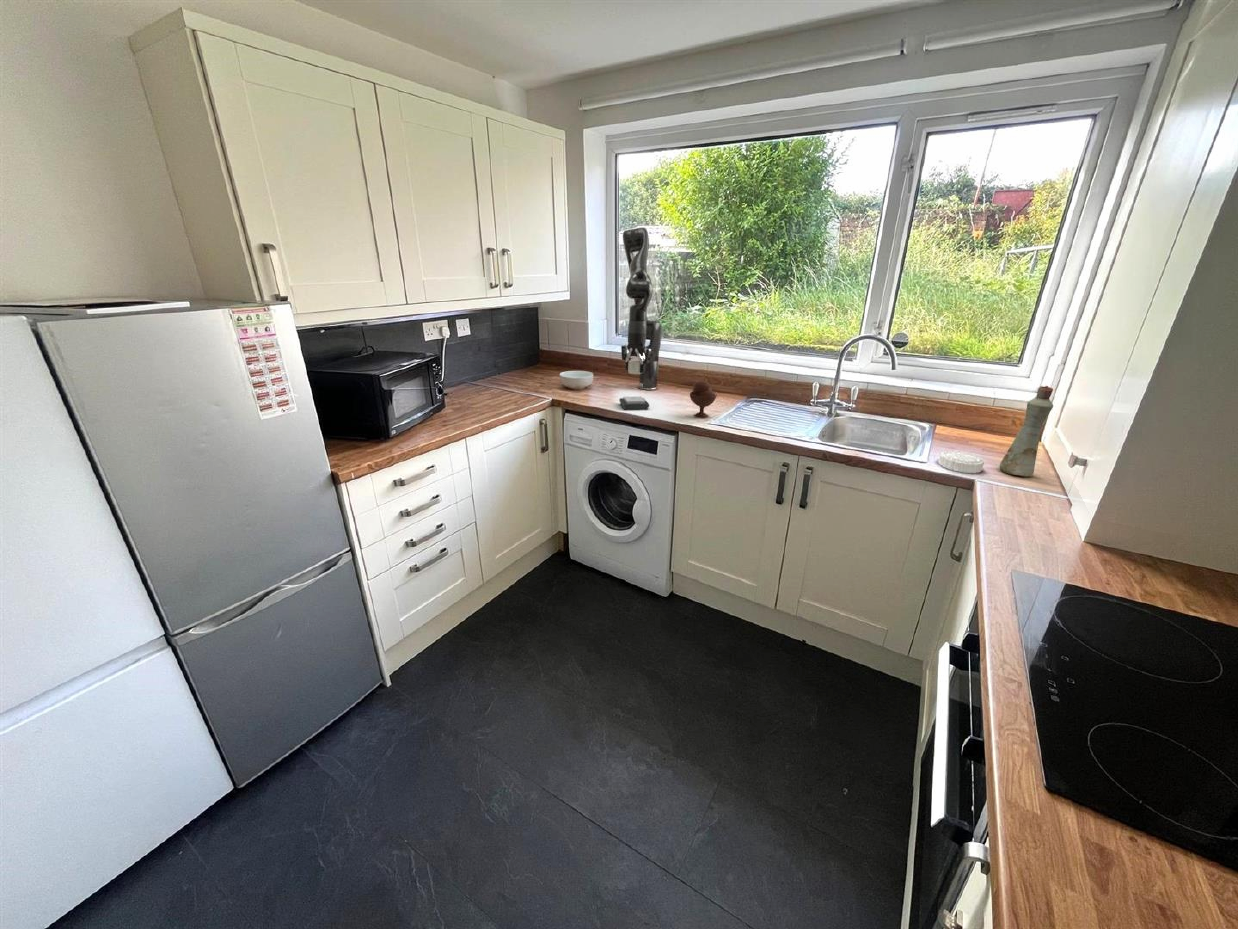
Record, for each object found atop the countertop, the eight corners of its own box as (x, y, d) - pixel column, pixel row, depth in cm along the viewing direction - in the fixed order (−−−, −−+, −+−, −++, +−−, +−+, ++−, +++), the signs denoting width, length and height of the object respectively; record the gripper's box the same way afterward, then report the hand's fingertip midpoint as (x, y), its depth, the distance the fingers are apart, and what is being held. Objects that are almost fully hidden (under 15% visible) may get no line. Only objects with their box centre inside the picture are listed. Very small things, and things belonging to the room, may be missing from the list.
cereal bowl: (564, 383, 258) (564, 369, 255) (595, 385, 256) (596, 371, 253) (555, 390, 242) (555, 375, 239) (589, 392, 240) (589, 378, 237)
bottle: (1003, 475, 155) (1033, 386, 144) (994, 465, 163) (1022, 381, 152) (1036, 480, 152) (1070, 390, 142) (1026, 470, 160) (1057, 384, 150)
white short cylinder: (626, 371, 215) (627, 360, 213) (640, 371, 216) (641, 360, 214) (629, 374, 209) (630, 362, 208) (643, 374, 211) (644, 362, 209)
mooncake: (985, 476, 154) (988, 465, 152) (940, 469, 158) (943, 458, 157) (977, 463, 164) (980, 453, 163) (935, 457, 168) (938, 447, 167)
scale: (619, 403, 222) (619, 398, 221) (643, 403, 224) (643, 397, 223) (624, 410, 212) (624, 404, 211) (648, 409, 214) (649, 404, 213)
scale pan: (623, 400, 220) (623, 396, 220) (640, 399, 222) (641, 396, 221) (626, 404, 213) (627, 401, 212) (645, 404, 214) (645, 400, 214)
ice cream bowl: (716, 420, 202) (720, 383, 197) (689, 419, 202) (692, 382, 197) (712, 413, 212) (716, 378, 207) (686, 412, 212) (689, 377, 207)
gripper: (617, 330, 207) (616, 370, 213) (647, 333, 200) (644, 375, 206) (627, 329, 213) (625, 368, 219) (656, 332, 206) (654, 372, 212)
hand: (635, 371), depth 212 cm, fingers closed on white short cylinder, 6 cm apart
